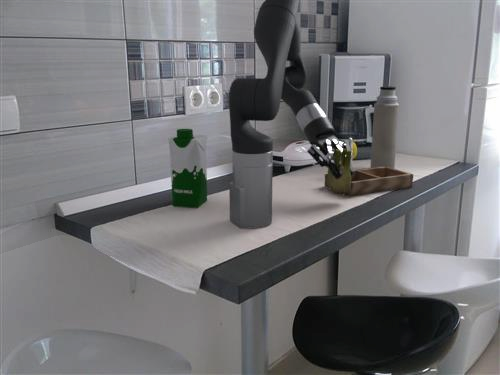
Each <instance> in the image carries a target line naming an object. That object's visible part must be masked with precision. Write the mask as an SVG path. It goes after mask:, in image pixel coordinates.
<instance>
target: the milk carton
mask: <svg viewBox="0 0 500 375" xmlns="http://www.w3.org/2000/svg"><path fill="white" fill-rule="evenodd" d="M207 138H208V136H207V135H205V134H204V135H203V134H194V131H193V129H192V128H178V129H176V134H175V135H174V136H172V137H171V136H170V137H169V138H168V147H169V154H170V155H169V158H170V178H171V180H170V181H171V196H172V206H173V207H179V208H181V207H182V208H192V209H199V207H201V206H202V205H203V204H205V203H206V202H208V178H207V176H208V174H207V173H208V171H207V168H208V167H207V141H208V139H207Z"/></svg>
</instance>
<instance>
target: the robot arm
mask: <svg viewBox="0 0 500 375" xmlns="http://www.w3.org/2000/svg"><path fill="white" fill-rule="evenodd" d="M299 5H300V0H264V1H263V2H262V4H261V5H260V7H259V9H258V12H257V15H256V20H255V24H254V27H253V37H254V40H255V43H256V45H257V48H258V49H259V51H260V54H261V55H262V57H263V59H264V61H265V64H266V67H267V70H266V71H267V72H266V76H265V77H264V78H259V77H256V78H251V77H247V78H246V77H244V78H242V77H240V78H239V77H238V78H235V79H234V80H233V81H232V82H231V85H230V87H229V92H228V110H229V112H228V113H229V124H230V127H229V128H230V141H231V150H232V154H231V156H232V162H231V163H232V181H230V182H229V186H228V188H229V196H228V197H229V221H230V223H232V224H233V225H235V226H237V227H238V228H239V229H244V228H248V229H257V228H264V227H267V226H270V225H271V224H272V223H273V168H274V167H273V157H274V156H273V155H274V154H273V153H274V152H273V151H274V150H273V148H274V145H273V139H272V137H270V136H269V135H266V134H264V133H262V132H260V131H259V130H258V129H256V128H254V126H252V124H251V121H254V122H255V121H256V122H260V121H261V122H269V121H273V120H275V119H276V117H277V116H278V113H279V110H280V106H281V100H282V101H283V102H284V103H285V104H286V105H287V106H288V107H289V108H290V110H291V111H292V112H293V114H294V116H295V118H296V120H297V123H298V125H299V127H300V129H301V130H302V132H303V134H304V136H305V137H306V139H307V141H308V142H309V144H310V145H311V146H310V147H309V148H308V149H307V153H308V154H309V155H310V156H311V158H312V159H314V161H316V163H317V164H319V166H320V167H321V168H323V167H326V168H327V169H328V168H329V169H330V171H331V173H332V174H333V176H334V177H335V178H336V179H339V178H340V177H341V176H342V175H343V174H342V172H341V170H340V169H339V167H338V165H337V164H336V163H335V160H334V157H333V152H332V151H331V150H332V149H334V156H335V153H336V149H341V155H340V164H341V156H342V149H346V152H347V150H350V147H349V143H348V141H349V140H344V141H340V140H339V138H337V137H336V134H335V133H336V130H335V127H334V126H333V124H332V123H331V121H330V120H329V118H328V116H327V114H326V113H325V112H324V110H323V109H322V108H321V106H320V105H319V103H318V102H317V100H316V98H315V96H314V95H313V93H312V92H311V91H310V90H308V89H303V88H305V86H306V84H307V81H308V75H307V70H306V67H305V62H304V61H303V54H302V52H301V50H302V49H301V46H302V45H301V41H302V40H301V26H300V22H299V20H298V18H297V17H298V12H299ZM287 62H289V66H287ZM350 151H351V150H350ZM345 156H346V155H345ZM351 158H352V154H351ZM352 166H353V165H352ZM352 166H351V165H350V174H351V176H352V175H353V174H354V170H355V169H354V168H353V167H352Z"/></svg>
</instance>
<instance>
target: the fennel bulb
mask: <svg viewBox="0 0 500 375" xmlns="http://www.w3.org/2000/svg"><path fill="white" fill-rule="evenodd" d="M331 151H332V152H333V157H334V160H335V163H336V164H337V165H338V167H339V169H340V170H341V172H342V174H343V175H342V176H341V177H340V178H339V179H336V178H335V177H334V176H333V174H332V173H331V171H330V169H329V168H327V174H328V185H329V188H330V189H329V191H330V192H331V193H333V194H335V195H343V194H345V193H347V192H348V191H349V190H350V188H351V174H350V159H351V151H350V150H347V152H346V149H342V156H341V157H340V155H341V149H336V153H335V156H334V149H332V150H331ZM345 155H346V156H345ZM340 158H341V164H340Z"/></svg>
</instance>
